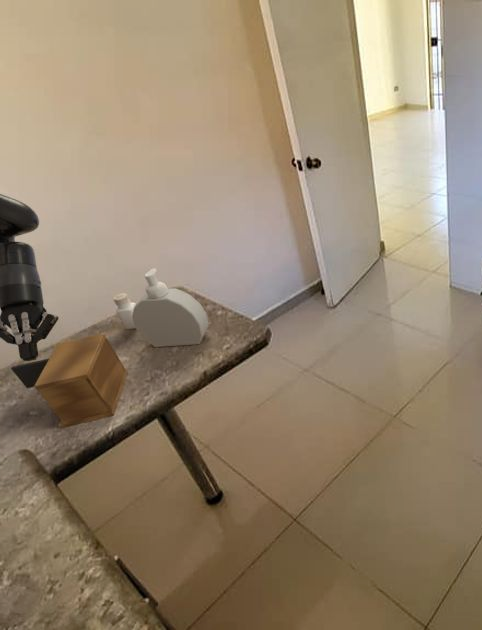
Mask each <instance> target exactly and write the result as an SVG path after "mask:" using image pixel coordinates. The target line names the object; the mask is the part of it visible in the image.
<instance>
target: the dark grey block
mask: <svg viewBox="0 0 482 630" xmlns="http://www.w3.org/2000/svg"><path fill="white" fill-rule="evenodd" d="M49 359H50V357H49V358H46V359H40V360H35V361H30V362H27V363H22V364H18V365H13V366H11V367H10V370H11V371H12V372H13V373H14V375H15V376H16V378H18V380H19V381H20V382H21V383H22V384H23V386H24V387H25V388H26V389H31V388H35V387H34V385H35V384H36V382H37V380H38V378H39V376H40V375H41V373H42V371H43V369H44V367H45V366H46V364H47V362H48V360H49Z"/></svg>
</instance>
